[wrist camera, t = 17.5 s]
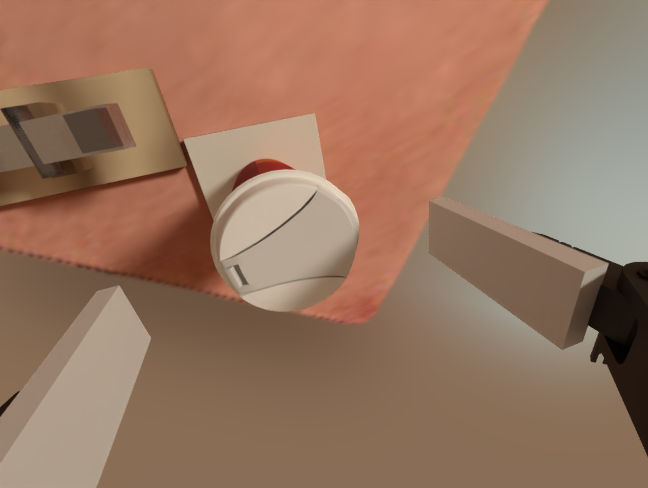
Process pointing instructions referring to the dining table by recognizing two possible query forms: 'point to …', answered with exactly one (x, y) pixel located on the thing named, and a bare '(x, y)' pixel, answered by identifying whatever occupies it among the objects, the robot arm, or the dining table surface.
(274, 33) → the dining table surface
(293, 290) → the paper cup
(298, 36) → the dining table surface
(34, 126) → the lever
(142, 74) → the lever base
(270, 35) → the dining table surface
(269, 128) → the tile
